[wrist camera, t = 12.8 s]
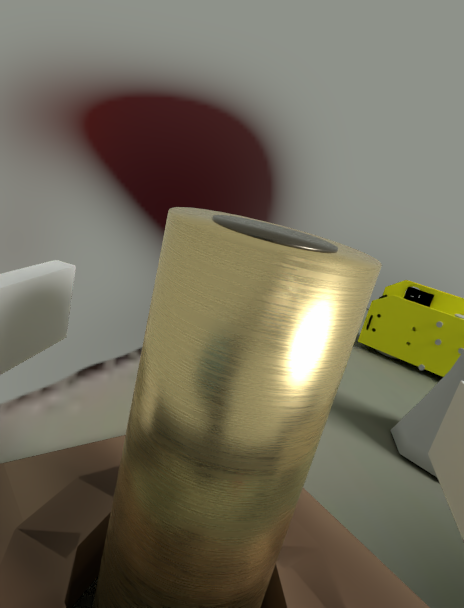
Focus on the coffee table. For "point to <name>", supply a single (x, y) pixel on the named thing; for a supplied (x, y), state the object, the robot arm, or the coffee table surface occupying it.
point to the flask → (427, 419)
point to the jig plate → (94, 523)
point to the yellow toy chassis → (416, 326)
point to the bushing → (227, 407)
